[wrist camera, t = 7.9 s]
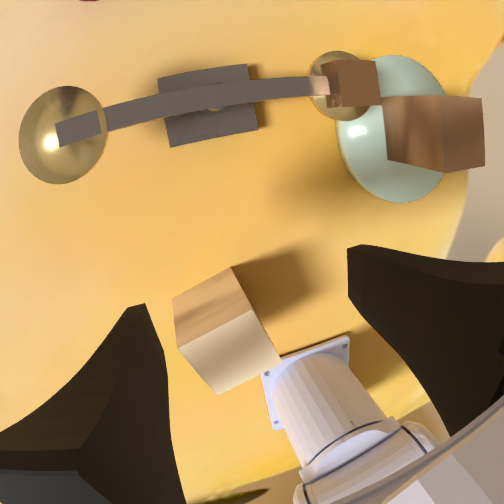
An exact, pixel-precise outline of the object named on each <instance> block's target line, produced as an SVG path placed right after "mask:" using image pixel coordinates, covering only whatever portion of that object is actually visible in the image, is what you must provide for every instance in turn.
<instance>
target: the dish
mask: <svg viewBox="0 0 504 504" xmlns="http://www.w3.org/2000/svg"><path fill="white" fill-rule="evenodd" d="M369 61H375V62H376V68H377V74H378V81H379V87H380V95H381V97H394V96H425V95H441V96H446V95H445V93H444V91H443V89H442V87H441V86H440V84H439V83H438V81H437V80H436V78H435V77H434V76H433V75H432V74H431V73H430V72H429V71H428V70H427V69H426V68H425V67H424V66H422V65H421V64H420V63H418V62H416V61H414V60H412V59H410V58H407V57H403V56H398V55H389V56H383V57H379V58H374V59H372V60H369ZM335 124H336V136H337V142H338V146H339V150H340V153H341V156H342V158H343V161H344V163H345V165H346V167H347V169H348V171H349V173H350V174H351V175H352V177H353V178H354V179H355V181H356V182H357V183H358V184H359V185H360V186H361V187H362V188H363V189H365V190H366V191H367V192H369V193H370V194H372V195H374V196H376V197H379V198H382V199H384V200H387V201H389V202H394V203H409V202H413V201H416V200H418V199H420V198H422V197H424V196H425V195H427V194H428V193H429V192H430V191H431V190H433V189H434V188H435V186H436V185H437V184H438V183H439V181H440V180H441V178H442V177H443V175H444V173H441V172H437V171H434V170H430V169H425V168H421V167H417V166H413V165H408V164H404V163H399V162H395V161H390V160H387V149H386V138H385V129H384V120H383V111H382V105H372V106H370V107H369V109H368V110H367V111H366V113H365V114H364V115H363V116H361V117H360V118H358V119H355V120H352V121H336V123H335Z"/></svg>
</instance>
